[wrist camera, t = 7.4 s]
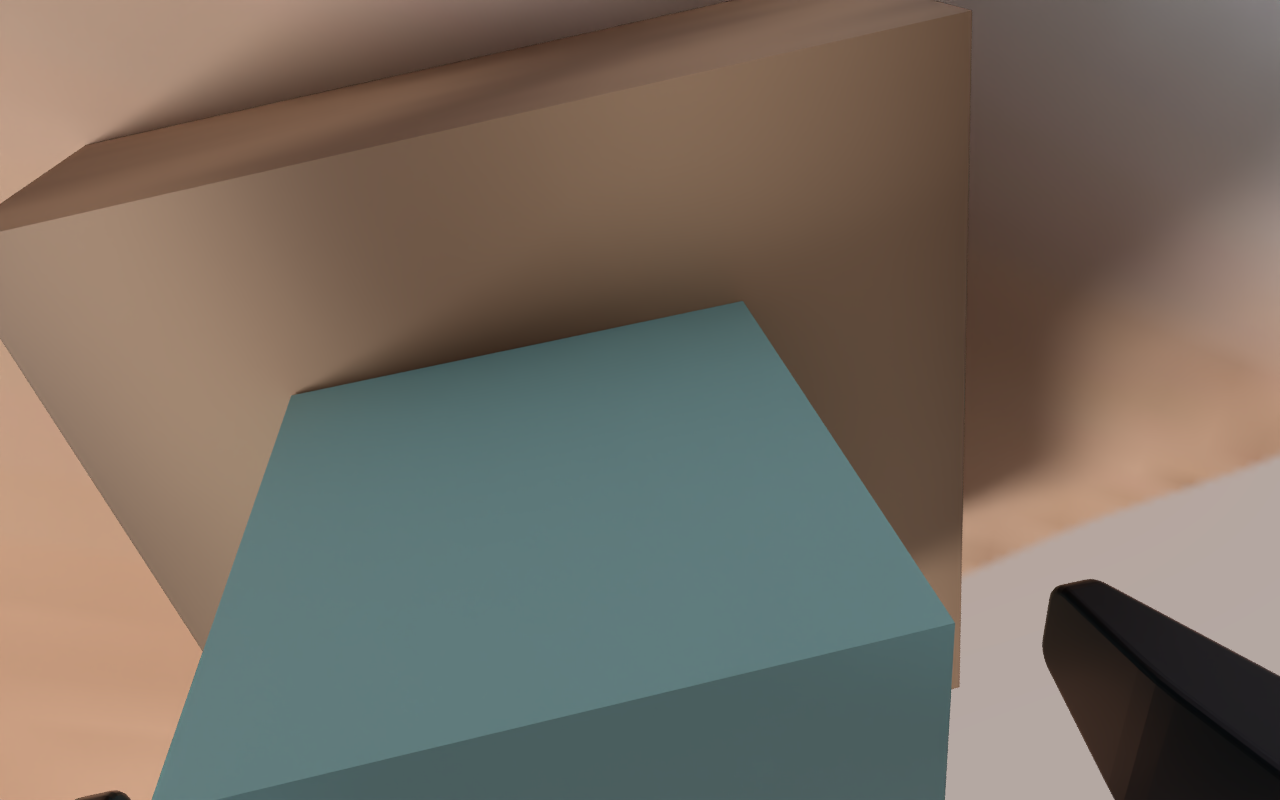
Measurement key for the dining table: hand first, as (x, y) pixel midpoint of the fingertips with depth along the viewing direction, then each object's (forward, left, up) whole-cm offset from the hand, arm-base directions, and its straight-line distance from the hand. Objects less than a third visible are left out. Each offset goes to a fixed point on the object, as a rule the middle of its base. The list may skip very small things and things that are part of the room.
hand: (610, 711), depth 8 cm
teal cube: (0, 0, -3) cm, 3 cm away
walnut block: (0, 0, -7) cm, 7 cm away
